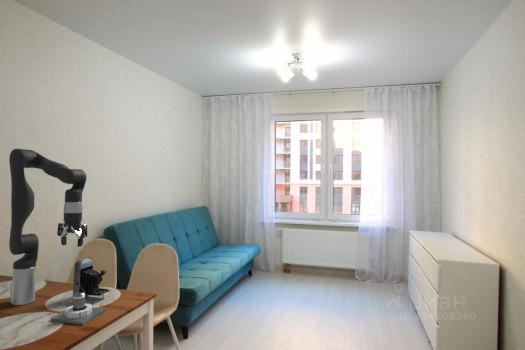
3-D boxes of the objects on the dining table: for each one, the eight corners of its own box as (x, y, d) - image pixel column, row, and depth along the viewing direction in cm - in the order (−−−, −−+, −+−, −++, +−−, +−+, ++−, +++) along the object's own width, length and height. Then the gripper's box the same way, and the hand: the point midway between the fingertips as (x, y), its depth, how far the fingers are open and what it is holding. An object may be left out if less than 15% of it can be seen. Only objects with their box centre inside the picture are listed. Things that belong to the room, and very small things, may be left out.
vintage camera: (98, 304, 161) (101, 264, 161) (71, 299, 164) (74, 260, 164) (110, 297, 170) (113, 259, 170) (85, 293, 173) (88, 256, 173)
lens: (69, 315, 144) (70, 294, 144) (78, 310, 149) (78, 291, 149) (79, 316, 143) (79, 295, 143) (87, 311, 148) (88, 292, 148)
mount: (50, 320, 140) (50, 312, 140) (74, 308, 154) (75, 300, 154) (82, 325, 137) (83, 316, 137) (104, 311, 151) (105, 304, 151)
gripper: (53, 211, 150) (52, 246, 150) (80, 213, 147) (79, 248, 147) (66, 209, 157) (65, 243, 157) (92, 211, 155) (90, 245, 155)
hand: (71, 245), depth 152 cm, fingers open, 8 cm apart
